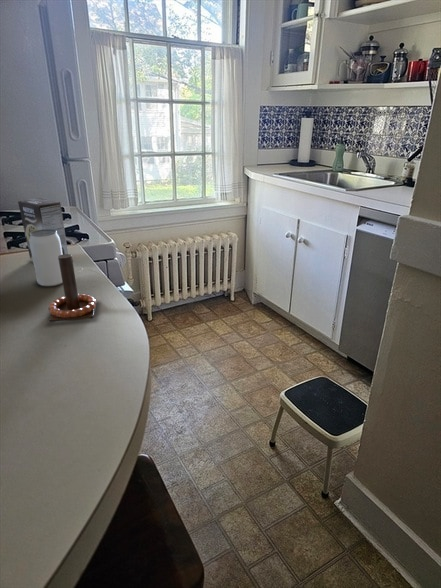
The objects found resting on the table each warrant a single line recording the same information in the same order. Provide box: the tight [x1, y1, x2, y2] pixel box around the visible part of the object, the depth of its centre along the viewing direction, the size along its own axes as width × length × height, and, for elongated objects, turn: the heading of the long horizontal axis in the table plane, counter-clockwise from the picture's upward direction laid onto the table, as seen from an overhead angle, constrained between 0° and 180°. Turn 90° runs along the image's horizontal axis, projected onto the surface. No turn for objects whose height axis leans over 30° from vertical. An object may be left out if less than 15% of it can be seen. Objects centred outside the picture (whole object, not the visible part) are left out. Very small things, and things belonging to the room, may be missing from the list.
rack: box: [48, 253, 98, 323], centre depth 76 cm, size 8×8×12 cm
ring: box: [48, 293, 97, 318], centre depth 77 cm, size 9×9×1 cm
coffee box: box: [17, 197, 69, 263], centre depth 102 cm, size 9×6×16 cm
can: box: [29, 229, 63, 287], centre depth 90 cm, size 6×6×12 cm
